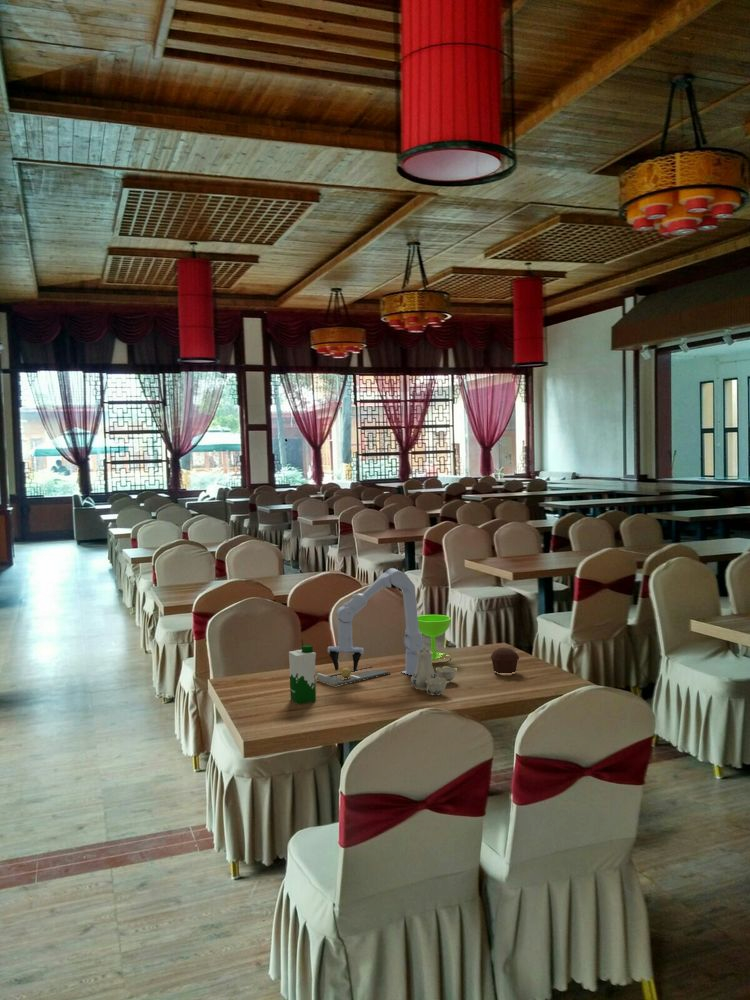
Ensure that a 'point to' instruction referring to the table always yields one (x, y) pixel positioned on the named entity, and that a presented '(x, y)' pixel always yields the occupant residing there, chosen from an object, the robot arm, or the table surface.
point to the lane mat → (356, 677)
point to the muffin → (504, 660)
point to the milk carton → (302, 675)
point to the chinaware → (430, 674)
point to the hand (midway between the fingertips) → (345, 670)
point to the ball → (346, 672)
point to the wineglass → (434, 629)
